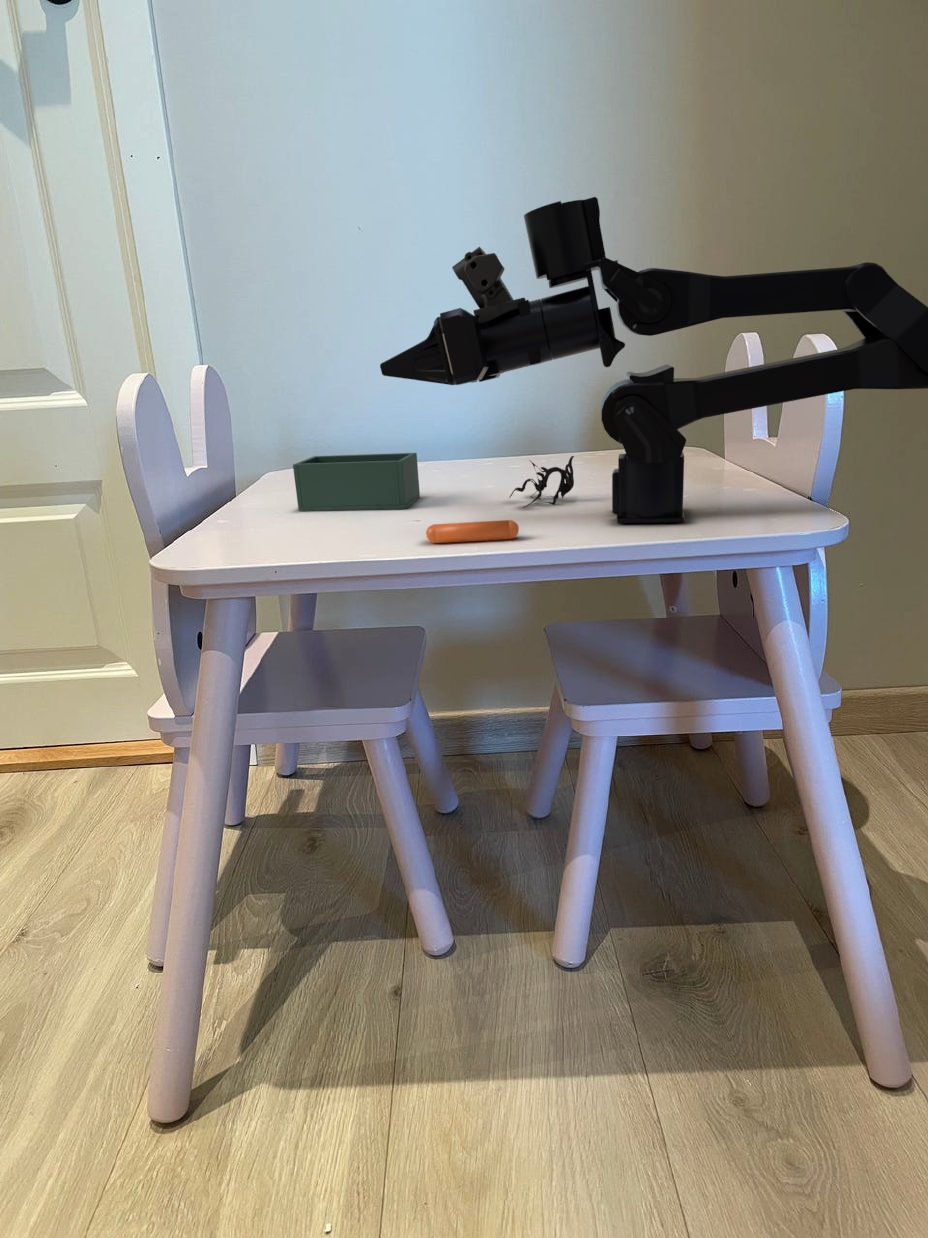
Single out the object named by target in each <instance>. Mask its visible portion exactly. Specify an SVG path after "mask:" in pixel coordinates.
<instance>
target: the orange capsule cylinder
mask: <svg viewBox="0 0 928 1238" xmlns="http://www.w3.org/2000/svg"><path fill="white" fill-rule="evenodd" d="M519 532H520V527H519V524H518V523H517V522H516V521H514V520H512V519H503V520H485V521H468V522H450V523H449V522H448V523H434V524H431V525H429V526H428V527H427V529H426V530H425V536H426V539H427V540H428V541H429V542H430V543H432V544H446V543H447V544H449V543H464V542H466V543H467V542H483V541H484V542H485V541H503V540H512V539H514V538H516V537H517V536H518V534H519Z"/></svg>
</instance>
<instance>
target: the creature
mask: <svg viewBox="0 0 928 1238" xmlns="http://www.w3.org/2000/svg"><path fill="white" fill-rule="evenodd" d="M574 458H575V456H574V455H572V456H570V458H569V460H568V461H567V462H568V463H567V464H566V465H565V468H564V469H563V468H560V467H559V466H553V467H550V468H547V467H544V466H541V467H540V469H539V471H537V470H536V467H537V465H536V464H535V463H534V462H533V461H531V460H530V459H528V461H530V463H531V464H532V466H533V468H534V471H535V474H536V477H537V481H535V479H533V478H527V479H526V480H525V481H524V482H523V484H522V485H521V486H522V487H519V486H518V487H515V488H514V489H513V491H512V492H511V494H510V495H509V498H508V499H511V497H512V496H513V494H514V493H515V491H517V492H520V493H523V492H524V491H525V490H526V486H527V484H528V483H529V482H531V483H532V484H533V486H534V488H535V490H536V491H535V492H534V493H533V494H532V495H530V496H529V497H530V498H532V496H534V495H535V494H536V493H538V494H537V495H536V496H535V497H534V499H533V500H532V501H531V502H530V503H528V504H527V505H524V506H523V507H522V508H523V509H524V508H526V507H529V506H532V505H537V504H538V505H539V504H540V503H539V502H536V501H537V500H541V499H542V494H543V493H542V492H543V491H544V490H545V489H546V488H547V487H548V481H549V480H548V479H549V477H550V476H551V475H552V474H553V473H555V472H557V473H559V474H560V481H559V485H558V488H557V490H556V491H555V494H554V496H553V495H548V496H544V497H543V498H544V499H545V498H548V497H550V498H552V499H553V500H552V502H551V501H545V502H543V503H541V504H546V503H547V504H550V505H553V506H554V505H556V502H557V499H559V494H560V496H561V499H562V500H563V499H564V497H565V495H567V494H568V493H570V491H571V490H572V489H573V488H574V485H575V480H574V479H575V478H574V468H573V459H574ZM544 473H545V474H544ZM539 476H540V477H541V479H539ZM537 482H538V483H537Z"/></svg>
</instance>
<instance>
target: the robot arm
mask: <svg viewBox="0 0 928 1238" xmlns="http://www.w3.org/2000/svg"><path fill="white" fill-rule="evenodd" d="M600 217H601V210H600V204H599V199H598V198H597V197H596V196H591V197H589V198H584V199H575V200H570V201H565V202H562V201H561V200H559V201H555V202H551V203H549V204H545V205H542V206H540V207H537V208H535V209H532V210H530V211H528V212H526V213H525V214H523V218H524V224H525V229H526V234H527V239H528V245H529V249H530V253H531V258H532V263H533V268H534V272H535V273H534V274H535V278H536V280H540V279H546V281H548V287H549V289H554V288H559V287H562V286H563V287H564V286H567V285H570V284H574V283H577V282H581V281H585V280H586V281H587V285H586V286H583V287H579V288H575V289H572V290H568V291H563V292H560V293H557V294H553V295H549V296H546V297H542V298H538V299H535V300H529V299H526V298H525V297H519V298H515V299H514V298H513V296H512V294H511V293H510V291H509V289H508V288H507V286H506V284H505V283H504V281H503V279H502V278H501V277H502V275H503V274H504V272H505V267H504V266H503V264H502V262H501V260H500V259H499V257H498V255H497V254H496V253H495V252H491V253H486V251H484V249H483V248H482V247H481V246H478V247H477V248H475V249H474V250H473V251H468V252H466V253H465V255H464V258H462V259H461V260H459V261H458V262H457V263H455V264H454V265H452V267H451V268H452V270H453V272H454V275H455V276H456V277H457V279H458V280H460V281H462V283H463V285H464V286H465V288H466V289H467V291H468V293H469V294H470V296H471V297H472V300H473V301H474V303H475V304H476V305H477V309H473V314H472V313H471V312H469V311H468V310H466V309H464V308H461V307H458V308H454V309H451V310H447V311H444V312H440V313H439V316H437V317H436V318H435V320H433V326H432V328H431V330H430V332H429V334H428V336H427V337H426V338H425V339H424V340H422V341H420V342H419V343H417V344H415V345H413V346H411V347H409V348H407V349H406V350H404V351H402V352H399V353H397V354H396V355H394V356H392V357H390V358H388V359H387V360H385V361H383V362H381V363H380V364H379V368H380V371H381V375H382V376H384V377H389V378H398V379H405V380H411V381H420V382H426V383H433V384H441V385H448V386H462V385H465V384H469V383H478V382H479V383H482V382H487V381H490V380H494V379H495V380H496V379H499V378H500V376H501V374H504V373H508V372H511V371H515V370H519V369H522V368H527V367H530V366H536V365H540V364H544V363H547V362H552V361H553V360H558V359H563V358H566V357H567V358H568V357H571V356H574V355H579V354H583V353H587V352H591V351H594V350H598V349H599V351H600V356H601V361H602V362H601V363H602V366H603V367H605V368H610V367H611V366H612V363H613V362H614V360H615V358H616V357H617V355H618V354H619V353H620V352H621V351H622V350H623V349H624V348H625V347H626V343H625V342H624V341H621V340H620V339H618V338H616V331H615V328H614V321H613V315H612V310H611V306H608V307H603V308H599V304H598V303H599V302H598V298H597V293H596V288H595V283H594V277H593V273H592V272H594V271H598V273H599V279H600V285H601V288H602V289H603V291H605V293H606V294H608V296H610V298H611V299H613V300H614V302H615V303H616V311H617V312H616V313H617V317H618V319H619V321H620V323H621V325H622V326H623V327H624V328H625V329H626V330H628V331H629V332H630V333H631V334H635V335H636V336H637V335H639V336H646V337H647V336H649V337H652V336H656V335H661V334H665V333H666V334H667V333H669V332H674V331H677V330H681V329H685V328H690V327H694V326H697V325H701V324H704V323H708V322H713V321H716V320H720V319H728V318H745V317H758V316H771V315H772V316H775V315H787V314H788V315H789V314H801V313H802V314H803V313H814V312H816V313H817V312H829V311H841V312H843V314H845V315H846V317H847V318H848V319H849V320H850V322H851V323H852V324H853V326H854V327H855V328H856V329H857V331H858V332H859V333H860V335H861V337H862V338H861V339H859V340H858V341H856V342H853V343H851V344H849V345H847V346H844V347H841V348H836V349H832V350H826V351H823V352H817V353H813V354H808V355H803V356H797V357H793V358H792V357H791V358H788V359H783V360H778V361H773V362H769V363H763V364H758V365H753V366H748V367H742V368H738V369H733V370H727V371H723V372H718V373H714V374H709V375H708V374H707V375H703V376H699V377H689V378H688V377H687V378H685V377H684V378H683V377H681V378H679V377H676V378H675V367H674V366H672V365H670V364H664V365H661V366H659V367H656V368H653V369H650V370H647V371H645V372H633V371H627V372H626V376H627V379H623V380H620V381H618V382H615V383H613V384H612V385H610V387H609V388H608V390H607V391H606V392H605V393H604V395H603V397H602V400H601V403H600V419H601V423H602V426H603V429H604V431H605V432H606V433H607V435H608V437H610V438H611V439H612V440H614V441H615V442H616V443H619V444H620V445H622V447H623V449H624V452H625V453H619V454H618V458H617V461H618V462H617V463H618V464H617V465H618V466H617V468H614V469H613V470H612V473H611V497H612V498H611V505H612V506H611V512H612V514H613V515H616V523H618V524H648V523H649V524H651V523H657V524H658V523H684V522H685V520H686V517H685V511H684V484H685V482H684V481H685V454H684V452H683V451H684V448H685V446H686V443H687V438H686V437H685V436H684V434H683V433H682V432H681V431H680V430H679V429H682V428H683V427H686V426H688V425H691V424H693V423H695V422H697V421H699V420H702V419H707V418H711V417H717V416H721V415H726V414H732V413H737V412H742V411H747V410H753V409H758V408H762V407H768V406H773V405H779V404H784V403H788V402H794V401H799V400H800V401H801V400H805V399H810V398H815V397H820V396H825V395H830V394H837V393H840V392H846V391H851V390H924V389H926V390H927V389H928V306H927V305H926V304H925V303H923V302H922V301H921V300H919V299H918V298H917V297H916V296H914V295H913V294H911V293H910V292H909V291H908V290H906V289H905V288H904V287H903V286H901V285H899V284H898V283H897V282H896V280H894V278H893V277H892V276H891V275H889V273H888V272H887V271H886V270H885V268H884V267H883V266H882V265H880V264H878V263H876V262H862V263H858V264H857V263H856V264H853V265H849V266H842V267H830V268H817V269H816V268H815V269H804V270H803V269H802V270H801V269H800V270H789V271H777V272H776V271H775V272H763V273H749V274H739V275H724V276H723V275H714V274H707V273H700V272H693V271H685V270H677V269H668V268H667V269H666V268H658V267H649V268H645V269H641V270H639V271H636V270H634V269H632V268H629V267H628V266H625V265H623V264H621V263H619V260H618V259H616V260H613V259H610V258H607V256H606V250H605V245H604V239H603V234H602V228H601V223H600Z"/></svg>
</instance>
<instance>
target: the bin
mask: <svg viewBox="0 0 928 1238" xmlns="http://www.w3.org/2000/svg"><path fill="white" fill-rule="evenodd" d="M292 470H293V477H294V485H295V486H294V487H295V492H296V494H295V495H296V500H297V502H296V503H297V510H298V512H318V511H319V512H322V511H325V512H327V511H372V510H373V511H375V510H376V511H379V510H406V509H408V508H409V507H411V506H412V505H413V504H414V503H415V502H417V501H419V499H420V498H421V492H420V491H421V490H420V481H419V480H420V479H419V467H418V454H417V452H402V453H401V452H397V453H396V452H395V453H371V454H369V453H368V454H367V453H366V454H340V455H339V454H338V455H336V454H335V455H334V454H333V455H314V456H313V455H312V456H311V457H308V458H306V459H303V460H301V461H299V462H298V461H297V462H296V463H293V464H292Z"/></svg>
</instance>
